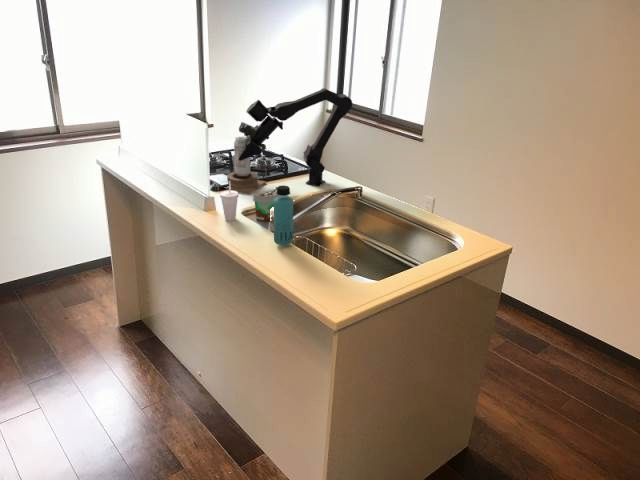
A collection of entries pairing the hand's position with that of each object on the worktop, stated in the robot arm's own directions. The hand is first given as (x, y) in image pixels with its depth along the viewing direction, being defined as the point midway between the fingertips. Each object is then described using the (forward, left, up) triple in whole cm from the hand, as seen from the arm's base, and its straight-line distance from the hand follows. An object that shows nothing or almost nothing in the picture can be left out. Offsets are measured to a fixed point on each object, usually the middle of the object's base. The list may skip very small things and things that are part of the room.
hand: (238, 157), depth 214 cm
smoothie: (+30, +15, -12) cm, 36 cm away
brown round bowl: (-1, +1, -12) cm, 12 cm away
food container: (+23, +28, -12) cm, 38 cm away
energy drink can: (-1, +1, -7) cm, 7 cm away
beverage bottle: (+40, +42, -12) cm, 59 cm away
